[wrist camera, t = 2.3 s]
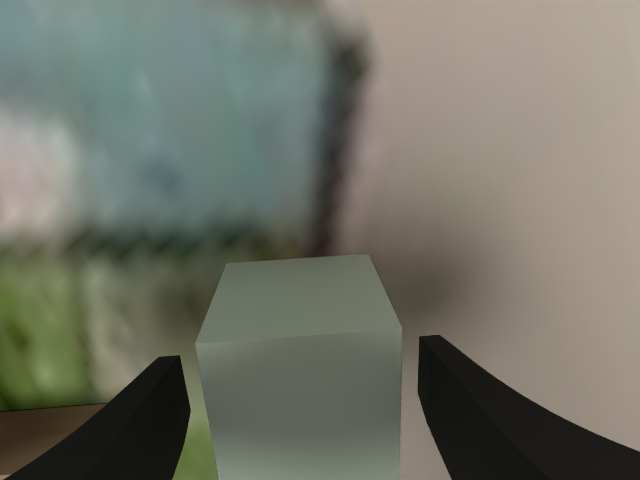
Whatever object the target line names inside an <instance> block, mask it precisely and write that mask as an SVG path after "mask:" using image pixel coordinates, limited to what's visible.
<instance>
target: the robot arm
mask: <svg viewBox="0 0 640 480" xmlns="http://www.w3.org/2000/svg"><path fill="white" fill-rule="evenodd" d="M418 395H419V398H420V402H421V405H422V409H423V412H424V415H425V418H426V421H427V424H428V427H429V429H430V431H431V434H432V436H433V438H434V440H435V443H436V445H437V447H438V450H439V452H440V454H441V456H442V459H443V461H444V463H445V465H446V468H447V470H448V472H449V474H450V477H451V479H452V480H640V452H639V451H637V450H634V449H631V448H629V447H626V446H624V445H621V444H619V443H616V442H614V441H611V440H609V439H607V438H604V437H602V436H600V435H597V434H595V433H593V432H591V431H589V430H587V429H584V428H582V427H580V426H578V425H576V424H574V423H572V422H570V421H568V420H566V419H564V418H562V417H560V416H558V415H556V414H554V413H552V412H550V411H549V410H547V409H545V408H543V407H542V406H540V405H538V404H536V403H534V402H533V401H531V400H529V399H528V398H526V397H524V396H523V395H521V394H519V393H518V392H516V391H515V390H513V389H512V388H510V387H509V386H507V385H506V384H504V383H503V382H501V381H500V380H498V379H497V378H495V377H494V376H493V375H491V374H490V373H488V372H487V371H486V370H484V369H483V368H482V367H480V366H479V365H478V364H476V363H475V362H474V361H472V360H471V359H470V358H468V357H467V356H466V355H465V354H463V353H462V352H461V351H460V350H458V349H457V348H456V347H454V346H453V345H452V344H451V343H449V342H448V341H447V340H446V339H444V338H443V337H442V336H440V335H432V336H420V337H419V366H418ZM190 412H191V409H190V404H189V399H188V394H187V389H186V384H185V379H184V374H183V369H182V364H181V359H180V355H178V356H165V357H158V358H157V359H156V360H155V361H154V362H153V363H151V364H150V365H149V366H148V367H147V368H146V369H145V370H144V371H143V372H142V373H141V374H140V375H138V376H137V377H136V378H135V379H134V380H133V381H132V382H131V383H130V384H129V385H128V386H127V387H125V388H124V389H123V390H122V391H121V392H120V393H119V394H118V395H117V396H115V397H114V398H113V399H112V400H111V401H110V402H109V403H108V404H106V405H105V406H104V407H103V408H102V409H100V410H99V411H98V412H97V413H96V414H94V415H93V416H92V417H91V418H90V419H88V420H87V421H86V422H85V423H84V424H82V425H81V426H80V427H79V428H78V429H76V430H75V431H74V432H72V433H71V434H70V435H68V436H67V437H66V438H64V439H63V440H62V441H60V442H59V443H58V444H56V445H55V446H53V447H52V448H51V449H49V450H48V451H46V452H45V453H44V454H42V455H41V456H39V457H38V458H36V459H35V460H33V461H32V462H30V463H29V464H27V465H25V466H24V467H22V468H21V469H19V470H17V471H16V472H14V473H13V474H11V475H10V476H8V477H6V478H5V479H3V480H172V478H173V476H174V473H175V470H176V467H177V464H178V461H179V458H180V455H181V452H182V449H183V446H184V442H185V437H186V433H187V428H188V423H189V417H190Z"/></svg>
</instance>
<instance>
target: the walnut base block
mask: <svg viewBox="0 0 640 480" xmlns="http://www.w3.org/2000/svg"><path fill="white" fill-rule="evenodd" d="M105 405H106V404H96V405H84V406H71V407H59V408H46V409H34V410H22V411H9V412H0V480H3V479H5V478H6V477H8V476H10V475H11V474H13V473H14V472H16V471H17V470H19V469H21V468H22V467H24V466H25V465H27V464H29V463H30V462H32V461H33V460H35V459H36V458H38V457H39V456H41V455H42V454H44V453H45V452H46V451H48V450H49V449H51V448H52V447H53V446H55V445H56V444H58V443H59V442H60V441H62V440H63V439H64V438H66V437H67V436H68V435H70V434H71V433H72V432H74V431H75V430H76V429H78V428H79V427H80V426H81V425H82V424H84V423H85V422H86V421H87V420H88V419H90V418H91V417H92V416H93V415H94V414H96V413H97V412H98V411H99V410H100V409H102V408H103V407H104V406H105Z"/></svg>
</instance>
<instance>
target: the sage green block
mask: <svg viewBox="0 0 640 480" xmlns="http://www.w3.org/2000/svg"><path fill="white" fill-rule="evenodd" d="M195 347H196V353H197V358H198V364H199V369H200V375H201V381H202V386H203V392H204V398H205V403H206V409H207V414H208V420H209V426H210V431H211V437H212V442H213V448H214V454H215V459H216V465H217V471H218V476H219V480H399V468H400V420H401V372H402V327H401V324H400V322H399V320H398V318H397V315H396V313H395V311H394V309H393V307H392V304H391V302H390V300H389V298H388V296H387V293H386V291H385V289H384V287H383V285H382V282H381V280H380V278H379V276H378V274H377V271H376V269H375V267H374V265H373V262H372V260H371V258H370V256H369V254H357V255H342V256H327V257H312V258H297V259H282V260H268V261H253V262H238V263H226V266H225V268H224V271H223V274H222V276H221V279H220V281H219V284H218V286H217V289H216V292H215V294H214V297H213V299H212V302H211V304H210V307H209V309H208V312H207V315H206V317H205V320H204V322H203V325H202V327H201V330H200V333H199V335H198V338H197V340H196V343H195Z"/></svg>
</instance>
